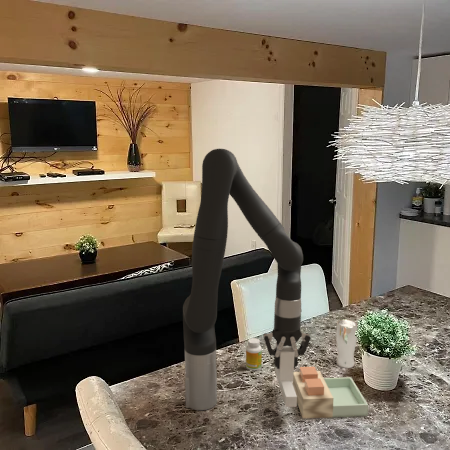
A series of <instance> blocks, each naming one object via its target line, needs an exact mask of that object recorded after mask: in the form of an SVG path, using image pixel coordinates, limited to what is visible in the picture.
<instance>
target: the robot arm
mask: <svg viewBox="0 0 450 450" xmlns="http://www.w3.org/2000/svg"><path fill="white" fill-rule="evenodd" d="M201 165H202V166H201V196H200V203H199V207H198V212H197V216H196V221H195V227H194V232H193V240H192V248H191V252H192V253H191V271H192V272H191V273H192V283H191V289H190V294H189V296H187V298H186V299H185V301H184V302H183V305H182V325H183V327H182V328H183V342H184V343H183V344H184V369H185V372H184V391H185V392H184V394H185V395H184V397H185V408H186V409H188V408H189V409H191V410H196V411H206V410H210V409H212V408H213V407H215V406H216V404H217V402H218V400H217V399H218V394H217V392H218V391H217V388H218V387H217V386H218V385H217V377H218V376H217V339H216V332H215V331H216V330H215V329H216V328H215V324H216V321H217V318H218V294H219V293H218V292H219V286H220V285H219V284H220V279H221V275H222V269H223V265H224V260H225V254H226V249H227V248H226V247H227V242H228V241H227V240H228V231H229V213H228V212H229V211H228V209H229V208H228V207H229V197H232V199H233V201H234V202H235V204H236V205H237V207H238V208H239V210H240V211H241V213H242V214H243V216H244V218H245V219H246V221H247V222H248V224H249V225H250V227H251V228H252V230H254V232H255V233H256V234H257V236H258V238H260V239H261V241H263V243H264V244H265V245H266V247H267V249H268V250H269V252H270V254H271V256H272V257H273V259H274V260H275V263H277V277H276V285H275V300H274V316H273V317H274V318H273V329H272V331H271V332H270V333H266V332H265V333H263V341H264V343H265V345H266V349H267V351H268V352H267V353H268V355H269V356H273V358H274V359H273V364H274V368H275V367H277V369H279V368H280V356H279V355H280V351H282V348H283V346H291V347H292V349H293V351H294V352H295V353H294V370H296V367H298V363H299V361H298V360H299V356H304V355H305V354H306V351H307V349H308V346H309V344H310V342H311V339H312V338H311V336H310V334H309V333H308V332H306V333H304V332H302V331H301V325H302V324H301V323H302V322H301V321H302V279H301V273H302V264H303V262H304V254H303V250H302V247H301V246H300V245H299V243H297V242H295V241H293V239H291V238H290V236H289V235H288V234H287V232H286V230H285V228H284V225H283V224H282V222H280V220H279V219H278V218H277V216H276V215H275V214H274V212H273V211H272V210H271V209H270V208H269V206H268V205H267V204H266V203H265V201H264V200H263V199H262V198H261V196H259V194H258V193H257V192H256V190H255V189H254V188H253V186H252V185H251V184H250V182H249V181H248V179H247V178H246V176H245V174H244V173H243V170H242V169H241V167H240V165H239V163H238V159H237V157H236V156H235V155H234V153H233V152H231V151H230V150H228V149H226V148H214V149H211V150H210V151H208V153H206V155H205V156H204V158H203V160H202V164H201ZM272 339H274V340H275V341H276V343H275V347H274V349H273V347H272V345H271V342H272V341H273V340H272ZM300 339H301V342H300V345H299V348H298V347H297V343H298V341H299V340H300Z"/></svg>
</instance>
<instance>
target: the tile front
mask: <svg viewBox="0 0 450 450" xmlns="http://www.w3.org/2000/svg"><path fill="white" fill-rule="evenodd" d="M305 389H306V391H307V394H308V395H324V385H323V383H322V381H321V379H305Z"/></svg>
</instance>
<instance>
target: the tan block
mask: <svg viewBox="0 0 450 450" xmlns="http://www.w3.org/2000/svg"><path fill="white" fill-rule="evenodd" d="M316 371H317V373H318V379H321V381H322V383H323V385H324V395H308V394H307V391H306V389H305V382H302V379H301V377H300V371H294V376H293V381H292V384H293V387H294V390H295V392H296V395H297V405H298V408H299V411H300V412H299V413H300V415H301V417H302V419H303V420H304V419H320V418H321V419H322V418H323V419H326V418H327V419H328V418H330V419H331V418H334V417H333V396H332V394H331V392H330V390H329V388H328V386H327V384H326V382H325V380H324V378H325V377H324V376H323V374H322V372H321V370H316Z"/></svg>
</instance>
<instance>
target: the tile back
mask: <svg viewBox="0 0 450 450" xmlns="http://www.w3.org/2000/svg"><path fill="white" fill-rule="evenodd" d="M317 371H318V370H317V369H316V367H315V366H300V367H299V372H300V377H301V379H302V382H305V379H318V373H317Z"/></svg>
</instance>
